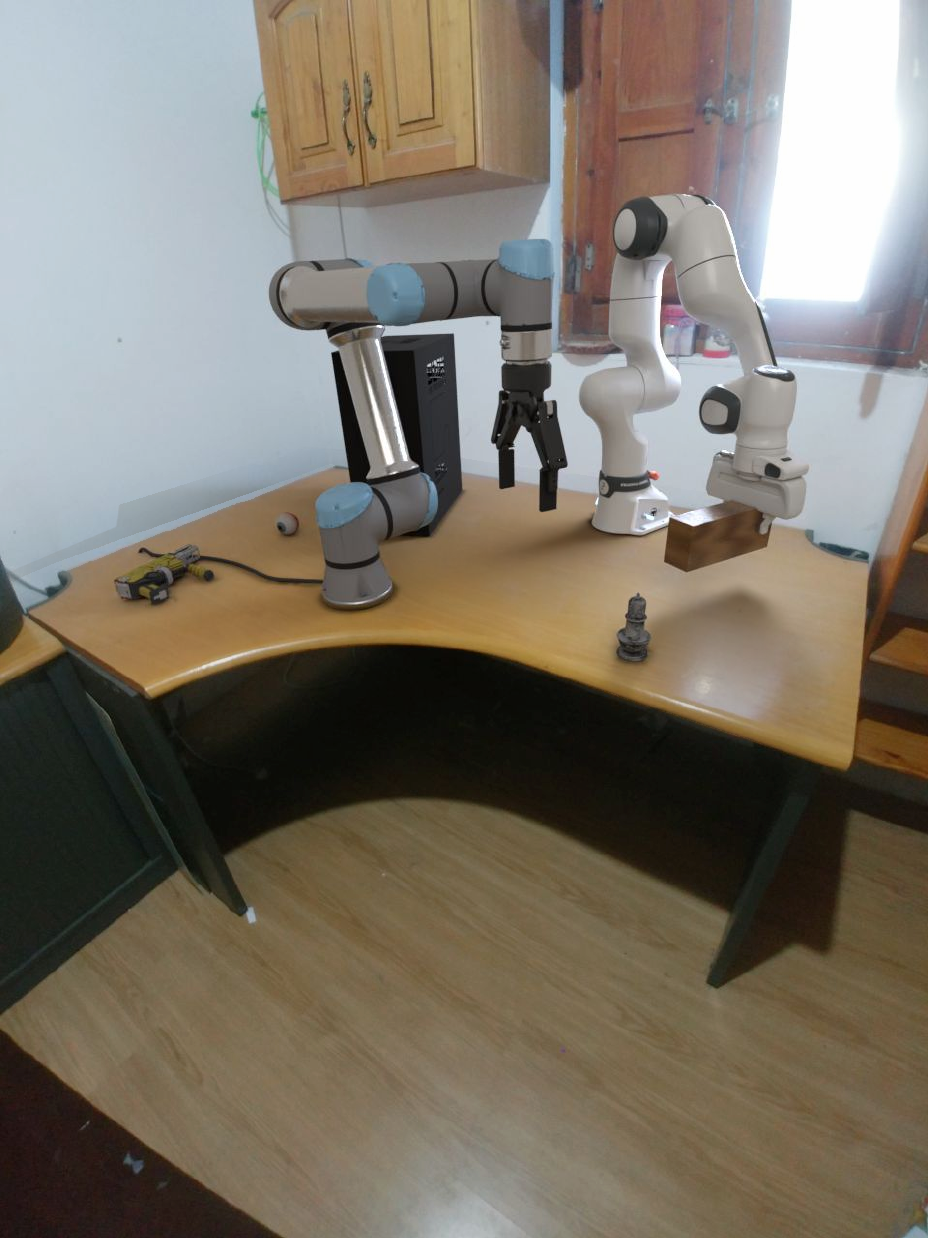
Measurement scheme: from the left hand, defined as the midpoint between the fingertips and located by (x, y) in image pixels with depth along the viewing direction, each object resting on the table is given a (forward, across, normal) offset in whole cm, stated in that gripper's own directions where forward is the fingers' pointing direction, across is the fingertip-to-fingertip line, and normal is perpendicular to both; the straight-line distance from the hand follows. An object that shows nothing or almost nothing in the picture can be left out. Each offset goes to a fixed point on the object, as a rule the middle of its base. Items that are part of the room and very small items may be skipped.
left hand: (526, 498), depth 101 cm
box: (+18, +4, +42) cm, 46 cm away
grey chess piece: (+27, +15, +13) cm, 33 cm away
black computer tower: (+27, -76, +6) cm, 81 cm away
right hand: (+14, +3, +49) cm, 51 cm away
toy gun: (+27, -60, -59) cm, 88 cm away
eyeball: (+27, -77, -30) cm, 87 cm away
